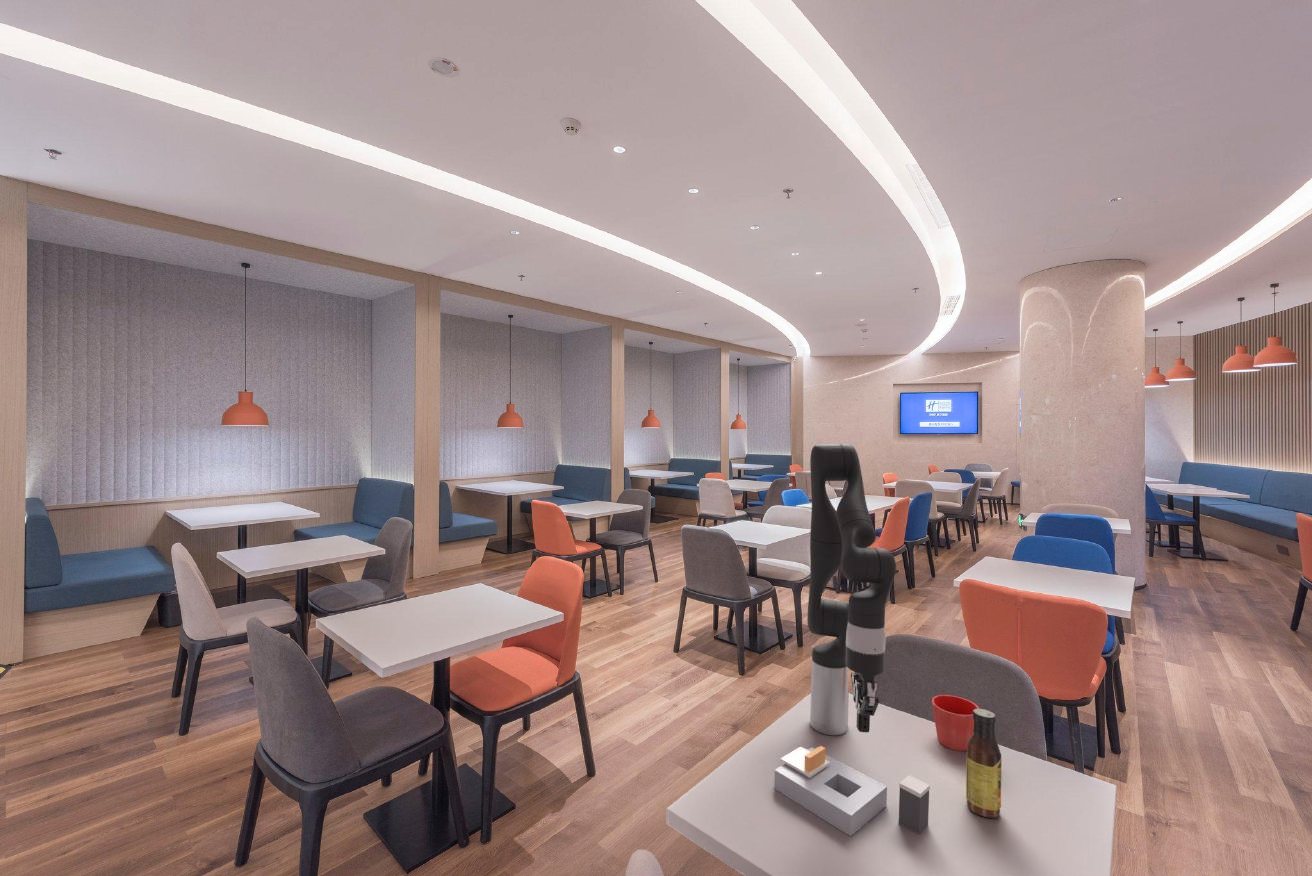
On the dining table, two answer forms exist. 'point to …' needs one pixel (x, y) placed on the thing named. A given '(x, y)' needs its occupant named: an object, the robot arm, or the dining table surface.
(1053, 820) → the dining table surface
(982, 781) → the sauce bottle
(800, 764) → the shutter
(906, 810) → the plug
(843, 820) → the socket block
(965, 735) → the flower pot
